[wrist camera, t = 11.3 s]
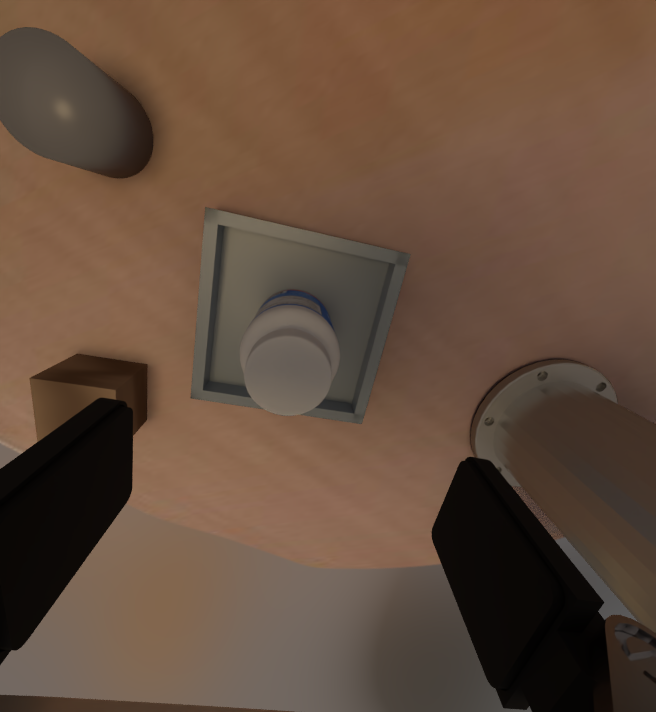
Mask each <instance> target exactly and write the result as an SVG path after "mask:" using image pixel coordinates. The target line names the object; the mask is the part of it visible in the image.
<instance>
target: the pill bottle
mask: <svg viewBox="0 0 656 712" xmlns="http://www.w3.org/2000/svg"><path fill="white" fill-rule="evenodd" d="M339 362H340V349H339V344H338V340H337V337H336V334H335V331H334V328H333V325H332V322H331V319H330V316H329V314H328V312H327V310H326V308H325V306H324V305H323V304H322V303H321V302H320V301H319V300H318V299H317V298H316V297H315V296H313V295H311V294H309V293H307V292H304V291H301V290H284V291H281V292H278V293H276V294H274V295H272V296H271V297H269V298H268V299H267V300H266V301H265V302H264V304H263V305H262V306H261V307H260V309H259V311H258V312H257V314H256V315H255V317H254V319H253V320H252V322H251V323H250V325H249V326H248V328H247V330H246V332H245V333H244V335H243V338H242V341H241V345H240V363H241V368H242V370H243V373H244V381H245V385H246V388H247V391H248V393H249V394H250V396H251V398H252V399H253V400H254V401H255V402H256V404H258V405H259V406H260V407H262V408H263V409H265V410H267V411H269V412H271V413H274V414H277V415H282V416H294V415H299V414H303V413H306V412H308V411H310V410H312V409H314V408H315V407H316V406H318V405H319V404H320V403H321V402H322V401H323V400H324V398H325V397H326V395H327V394H328V391H329V389H330V386H331V382H332V380H333V379H334V377H335V375H336V373H337V370H338V367H339Z"/></svg>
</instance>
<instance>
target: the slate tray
mask: <svg viewBox="0 0 656 712" xmlns="http://www.w3.org/2000/svg"><path fill="white" fill-rule="evenodd" d="M409 258H410V254H407V253H403V252H399V251H394V250H390V249H386V248H381V247H377V246H372V245H368V244H364V243H359V242H355V241H351V240H346V239H342V238H338V237H333V236H329V235H325V234H320V233H316V232H312V231H307V230H303V229H299V228H294V227H290V226H286V225H281V224H277V223H273V222H268V221H264V220H259V219H255V218H251V217H246V216H242V215H238V214H233V213H229V212H225V211H220V210H216V209H212V208H207V207H205V218H204V231H203V244H202V257H201V270H200V283H199V296H198V309H197V322H196V335H195V348H194V361H193V374H192V387H191V398H192V399H199V400H206V401H212V402H219V403H225V404H232V405H239V406H245V407H252V408H259V409H263V408H262V407H260V406H259V405H258V404H256V402H255V401H254V400H253V399H252V398H251V396H250V394H249V393H248V391H247V388H246V385H245V381H244V373H243V370H242V368H241V363H240V345H241V341H242V338H243V335H244V333H245V332H246V330H247V328H248V326H249V325H250V323H251V322H252V320H253V319H254V317H255V315H256V314H257V312H258V311H259V309H260V307H261V306H262V305H263V304H264V302H265V301H266V300H267V299H268V298H269V297H271V296H272V295H274V294H276V293H278V292H281V291H284V290H301V291H304V292H307V293H309V294H311V295H313V296H315V297H316V298H317V299H318V300H319V301H320V302H321V303H322V304H323V305H324V306H325V308H326V310H327V312H328V314H329V316H330V319H331V322H332V325H333V328H334V331H335V334H336V337H337V340H338V344H339V349H340V362H339V367H338V370H337V373H336V375H335V377H334V379H333V380H332V382H331V386H330V389H329V391H328V394H327V395H326V397H325V398H324V400H323V401H322V402H321V403H320V404H319V405H318V406H316V407H315V408H314V409H312V410H310V411H308V412H306V413H303V414H299V415H305V416H311V417H318V418H325V419H331V420H338V421H344V422H351V423H358V424H362V421H363V418H364V414H365V411H366V408H367V404H368V401H369V397H370V394H371V390H372V387H373V383H374V380H375V376H376V373H377V369H378V366H379V362H380V359H381V355H382V352H383V348H384V345H385V341H386V338H387V334H388V331H389V327H390V324H391V320H392V317H393V313H394V310H395V306H396V303H397V300H398V296H399V293H400V289H401V286H402V282H403V279H404V275H405V272H406V268H407V265H408V261H409Z"/></svg>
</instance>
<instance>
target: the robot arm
mask: <svg viewBox="0 0 656 712" xmlns="http://www.w3.org/2000/svg"><path fill="white" fill-rule="evenodd" d="M471 445H472V451H473V453H474V455H475V457H476V458H475V457H468V458H467V459H466V460H465V461H462V462H460V464H459V466H458V468H457V471H456V473H455V475H454V478H453V480H452V483H451V485H450V487H449V490H448V492H447V494H446V497H445V499H444V502H443V504H442V506H441V509H440V511H439V513H438V516H437V518H436V521H435V523H434V525H433V528H432V540H433V543H434V546H435V548H436V551H437V554H438V556H439V559H440V561H441V564H442V566H443V569H444V571H445V574H446V576H447V579H448V581H449V584H450V587H451V589H452V591H453V594H454V597H455V599H456V602H457V604H458V607H459V610H460V612H461V615H462V617H463V620H464V622H465V625H466V627H467V630H468V632H469V635H470V637H471V640H472V643H473V645H474V647H475V650H476V653H477V655H478V658H479V660H480V663H481V665H482V668H483V670H484V673H485V675H486V678H487V680H488V682H489V683H490V685H491V686H492V687H494V688H496V691H497V693H498V696H499V698H500V701H501V703H502V706H503V708H509V709H523V710H527V708H528V707H529V706H530V708H531V710H532V712H656V424H654V423H652V422H650V421H649V420H647V419H645V418H643V417H641V416H639V415H637V414H635V413H634V412H632V411H630V410H628V409H626V408H624V407H622V406H621V405H619V404H618V401H617V397H616V393H615V390H614V388H613V387H612V385H611V383H610V381H609V380H608V379H607V378H606V377H605V376H604V375H603V374H601V373H600V372H598V371H596V370H595V369H593V368H591V367H589V366H586V365H584V364H582V363H579V362H576V361H570V360H547V361H542V362H537V363H534V364H532V365H529V366H526V367H523V368H521V369H520V370H518V371H516V372H514V373H512V374H510V375H509V376H508V377H506V378H505V379H504V380H502V381H501V382H500V383H498V384H497V385H496V386H495V387H494V388H493V389H492V391H491V392H490V393H489V394H488V395H487V396H486V398H485V399H484V400H483V402H482V403H481V405H480V406H479V408H478V411H477V413H476V415H475V417H474V420H473V424H472V428H471ZM132 466H133V410H132V408H130V407H127V403H126V402H125V401H121V400H115V399H109V398H98V399H96V400H95V401H94V402H92V403H91V404H90V405H88V406H87V407H85V408H84V409H83V410H81V411H80V412H79V413H77V414H76V415H74V416H73V417H72V418H70V419H69V420H67V421H66V422H65V423H63V424H62V425H61V426H59V427H58V428H56V429H55V430H54V431H52V432H51V433H50V434H48V435H47V436H45V437H44V438H43V439H41V440H40V441H38V442H37V443H36V444H34V445H33V446H32V447H30V448H29V449H27V450H26V451H25V452H23V453H22V454H21V455H19V456H18V457H17V458H15V459H14V460H12V461H11V462H10V463H8V464H7V465H5V466H4V467H3V468H1V469H0V665H1V663H2V662H3V661H4V659H5V658H6V656H7V655H8V654H9V652H10V651H11V650H18V649H19V648H21V647H22V646H23V645H24V643H25V642H26V641H27V640H28V638H29V637H30V636H31V634H32V633H33V632H34V630H35V629H36V628H37V626H38V625H39V623H40V622H41V621H42V619H43V618H44V616H45V615H46V614H47V612H48V611H49V609H50V608H51V607H52V605H53V604H54V603H55V601H56V600H57V598H58V597H59V596H60V594H61V593H62V591H63V590H64V589H65V587H66V586H67V585H68V583H69V582H70V580H71V579H72V578H73V576H74V575H75V573H76V572H77V571H78V569H79V568H80V566H81V565H82V564H83V562H84V561H85V559H86V558H87V556H88V555H89V554H90V553H91V551H92V550H93V548H94V547H95V546H96V544H97V543H98V541H99V540H100V539H101V537H102V536H103V534H104V533H105V532H106V530H107V529H108V528H109V526H110V525H111V523H112V522H113V521H114V519H115V518H116V516H117V515H118V513H119V512H120V511H121V509H122V508H123V507H124V505H125V504H126V503H127V501H128V499H129V497H130V494H131V491H132ZM511 486H515V487H522V488H523V489H524V490H525V491H526V492H527V494H528V495H529V496H530V497H531V498H532V499H533V500H534V502H535V503H536V504H537V505H538V506H539V507H540V509H541V510H542V511H543V512H544V513H545V514H546V516H547V517H548V518H549V519H550V520H551V521H552V522H553V524H554V525H555V526H556V527H557V528H558V529H559V531H560V532H561V533H562V534H563V535H564V536H565V537H566V538H567V540H568V541H569V542H570V543H571V544H572V546H573V547H574V548H575V549H576V550H577V551H578V553H579V554H580V555H581V556H582V557H583V558H584V559H585V561H586V562H587V563H588V564H589V565H590V566H591V568H592V569H593V570H594V571H595V572H596V573H597V574H598V576H599V577H600V578H601V579H602V580H603V581H604V583H605V584H606V585H607V586H608V587H609V588H610V590H611V591H612V592H613V593H614V594H615V595H616V596H617V598H618V599H619V600H620V601H621V602H622V603H623V605H624V606H625V607H626V608H627V609H628V610H629V612H630V613H631V614H632V615H633V616H634V617H635V618H636V620H637V621H638V622H637V621H635V620H633V619H631V618H628V617H625V616H622V615H611V616H609V617H608V618H607V619H606V620H604V619H603V618H602V616H601V615H600V614H599V612H598V611H599V609H600V608H601V606H602V605H603V604H604V601H603V600H602V599H601V598H600V596H599V595H598V594H597V593H596V592H595V590H594V589H593V588H592V586H591V585H590V584H589V583H588V581H587V580H586V579H585V578H584V576H583V575H582V574H581V573H580V572H579V570H578V569H577V568H576V567H575V565H574V564H573V563H572V562H571V560H570V559H569V558H568V557H567V555H566V554H565V553H564V552H563V550H562V549H561V548H560V547H559V545H558V544H557V543H556V542H555V540H554V539H553V538H552V537H551V535H550V534H549V533H548V532H547V530H546V529H545V528H544V527H543V525H542V524H541V523H540V522H539V520H538V519H537V518H536V517H535V515H534V514H533V513H532V512H531V510H530V509H529V508H528V507H527V505H526V504H525V503H524V502H523V500H522V499H521V498H520V497H519V495H518V494H517V493H516V492H515V490H514V489H513V488H512V487H511ZM0 712H292V711H277V710H261V709H246V708H231V707H230V708H229V707H214V706H198V705H197V706H196V705H181V704H165V703H148V702H130V701H114V700H96V699H79V698H63V697H42V696H15V695H0Z"/></svg>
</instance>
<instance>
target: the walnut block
mask: <svg viewBox="0 0 656 712" xmlns="http://www.w3.org/2000/svg"><path fill="white" fill-rule="evenodd" d="M30 385H31V393H32V401H33V409H34V417H35V425H36V433H37V441H40V440H41V439H43V438H44V437H45V436H47V435H48V434H50V433H51V432H52V431H54V430H55V429H56V428H58V427H59V426H61V425H62V424H63V423H65V422H66V421H67V420H69V419H70V418H72V417H73V416H74V415H76V414H77V413H79V412H80V411H81V410H83V409H84V408H85V407H87V406H88V405H90V404H91V403H92V402H94V401H95V400H96V399H98V398H109V399H115V400H121V401H125V402H126V403H127V407H130V408H132V410H133V435H134V434H135V433H136V432H137V431H138V430H139V428H140V427H141V426H142V425H143V424H144V423H145V422H146V420H147V364H141V363H135V362H128V361H121V360H115V359H108V358H101V357H95V356H88V355H82V354H76V355H74V356H72V357H70V358H68V359H66V360H64V361H62V362H60V363H58V364H56V365H54V366H52V367H50V368H48V369H46V370H45V371H43V372H41V373H39V374H37V375H35V376H33V377H31V378H30Z"/></svg>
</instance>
